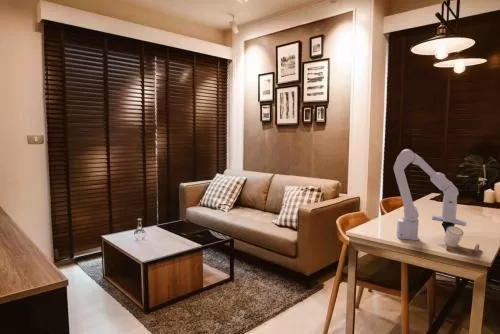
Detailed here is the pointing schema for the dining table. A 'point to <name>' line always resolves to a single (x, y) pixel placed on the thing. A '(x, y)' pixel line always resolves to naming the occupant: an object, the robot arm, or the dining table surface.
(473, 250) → the corner stop
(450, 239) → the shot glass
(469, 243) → the dining table surface
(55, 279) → the dining table surface
